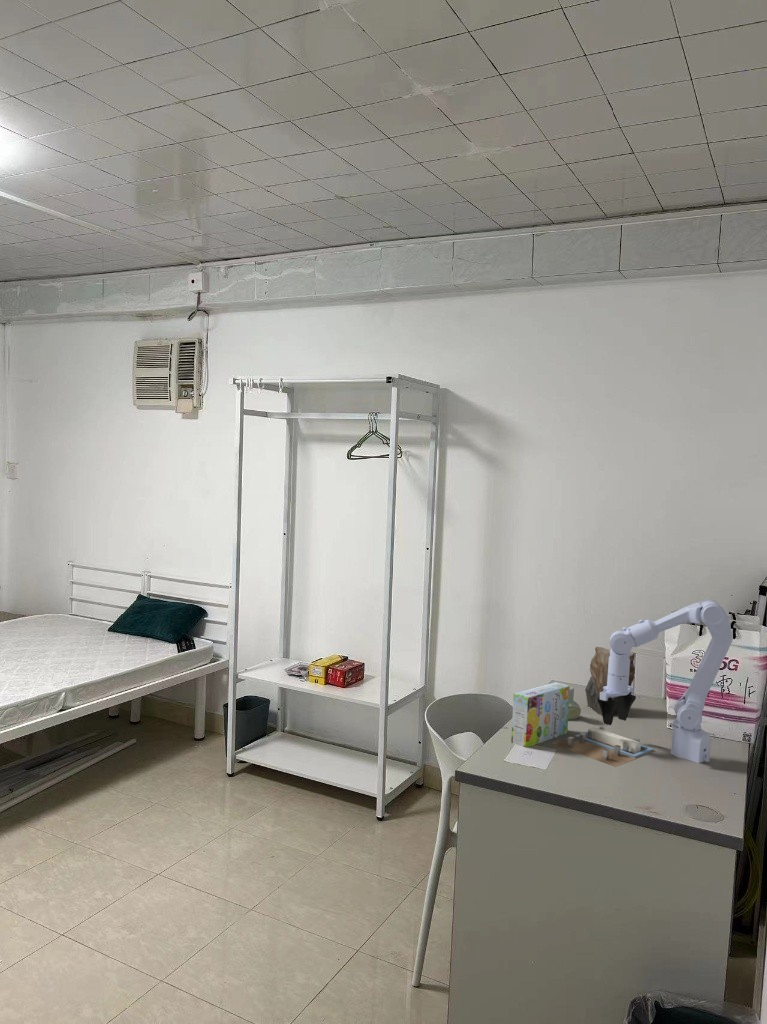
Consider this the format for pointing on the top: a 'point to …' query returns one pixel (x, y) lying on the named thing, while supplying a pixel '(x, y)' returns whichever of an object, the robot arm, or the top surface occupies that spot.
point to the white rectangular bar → (615, 739)
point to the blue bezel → (620, 750)
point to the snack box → (540, 714)
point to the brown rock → (602, 677)
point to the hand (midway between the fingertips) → (614, 721)
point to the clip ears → (605, 751)
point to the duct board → (597, 751)
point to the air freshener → (573, 706)
